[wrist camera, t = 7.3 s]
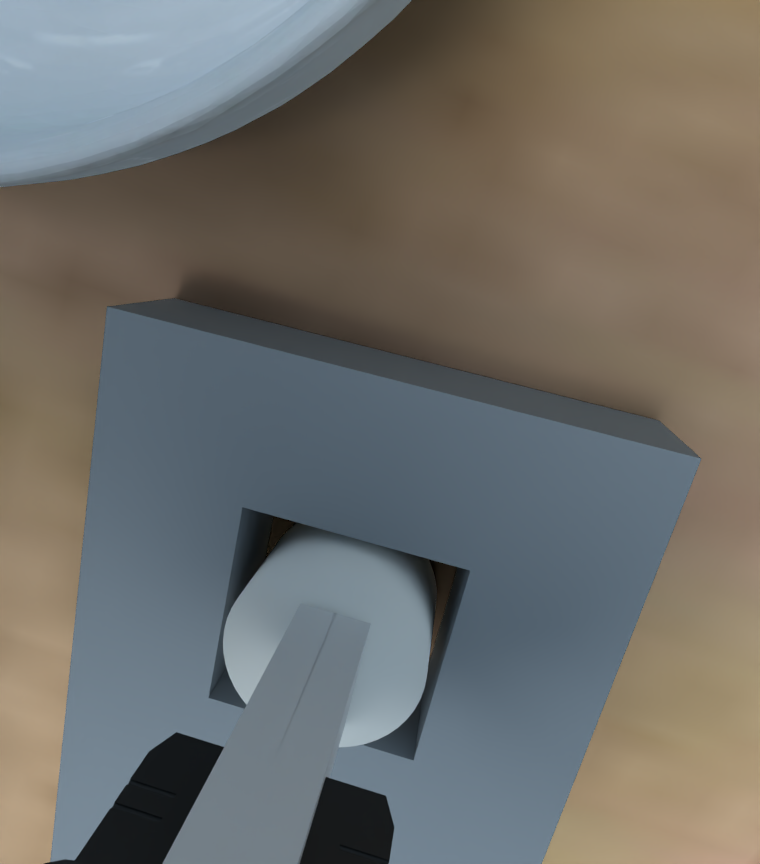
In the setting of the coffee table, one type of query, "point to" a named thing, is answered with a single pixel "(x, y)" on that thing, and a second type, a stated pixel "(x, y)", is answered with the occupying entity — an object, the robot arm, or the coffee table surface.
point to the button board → (372, 522)
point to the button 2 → (349, 596)
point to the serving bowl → (157, 74)
